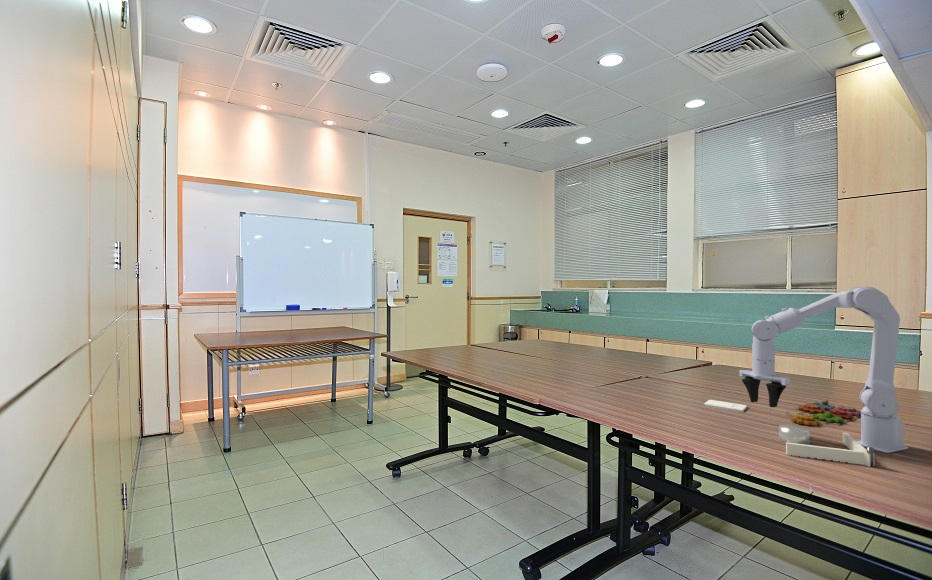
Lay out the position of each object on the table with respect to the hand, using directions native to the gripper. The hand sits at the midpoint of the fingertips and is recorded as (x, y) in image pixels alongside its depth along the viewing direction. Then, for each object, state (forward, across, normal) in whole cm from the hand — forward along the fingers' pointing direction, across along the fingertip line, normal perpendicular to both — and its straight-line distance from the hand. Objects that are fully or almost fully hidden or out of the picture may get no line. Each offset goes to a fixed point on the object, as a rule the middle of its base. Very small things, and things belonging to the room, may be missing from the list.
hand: (763, 404), depth 135 cm
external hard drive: (+9, -25, +14) cm, 30 cm away
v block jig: (+8, +22, 0) cm, 24 cm away
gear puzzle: (+9, -5, +32) cm, 33 cm away
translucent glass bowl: (+9, +9, 0) cm, 12 cm away
